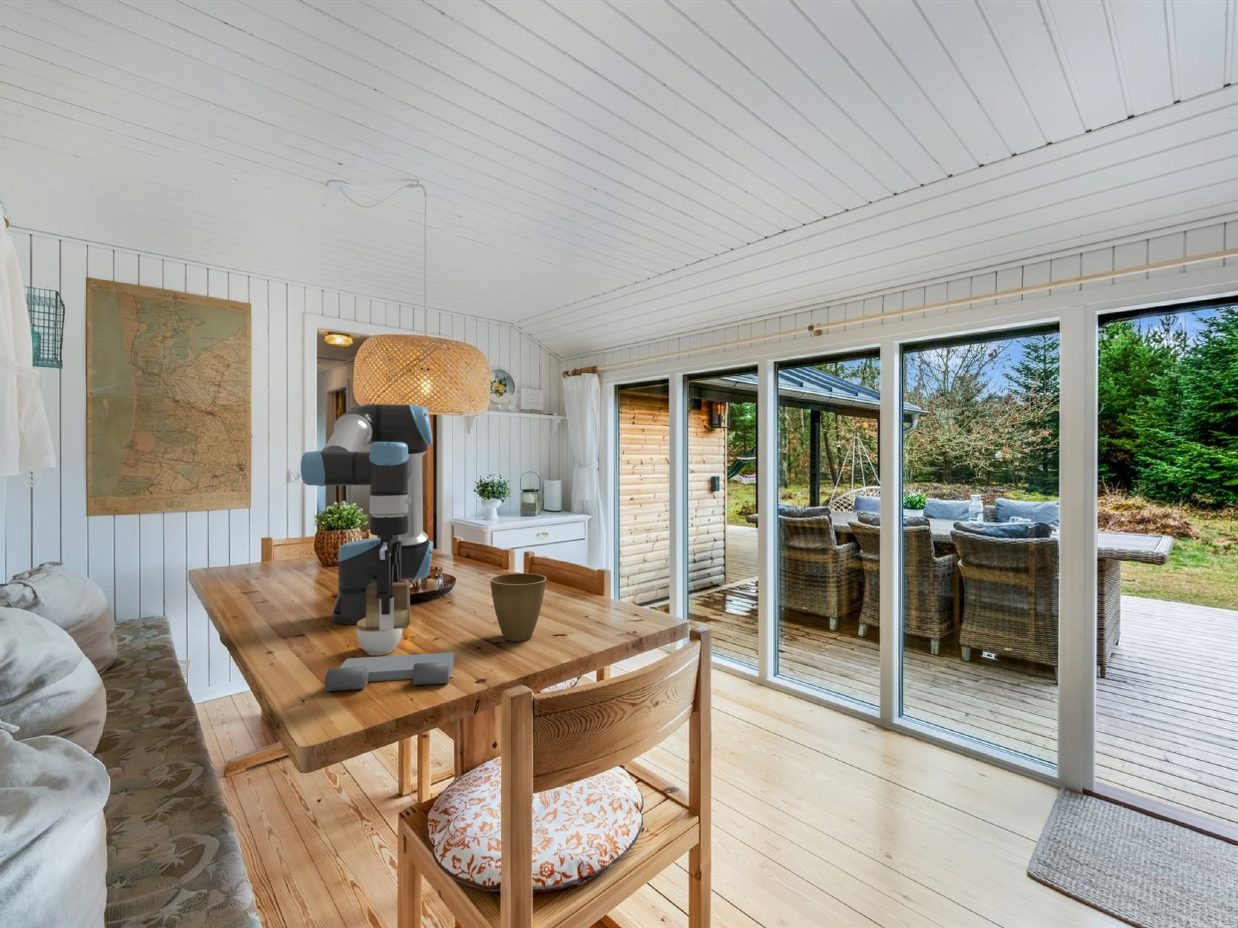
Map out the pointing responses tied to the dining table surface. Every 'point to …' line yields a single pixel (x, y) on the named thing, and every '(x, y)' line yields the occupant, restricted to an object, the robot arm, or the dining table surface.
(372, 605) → the taupe rectangular chunk
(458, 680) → the dining table surface
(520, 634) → the plant pot
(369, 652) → the lidded jar
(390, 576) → the robot arm
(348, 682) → the grey hinge leaf
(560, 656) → the dining table surface
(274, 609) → the dining table surface
